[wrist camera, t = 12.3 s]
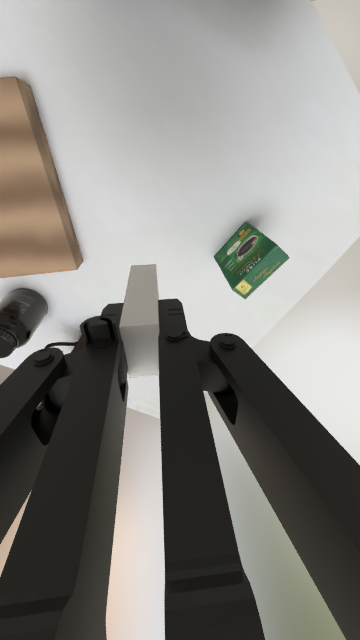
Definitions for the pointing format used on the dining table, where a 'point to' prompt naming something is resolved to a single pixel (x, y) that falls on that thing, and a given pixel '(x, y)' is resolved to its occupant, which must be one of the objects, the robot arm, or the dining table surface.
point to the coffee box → (249, 259)
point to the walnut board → (30, 192)
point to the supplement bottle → (19, 319)
